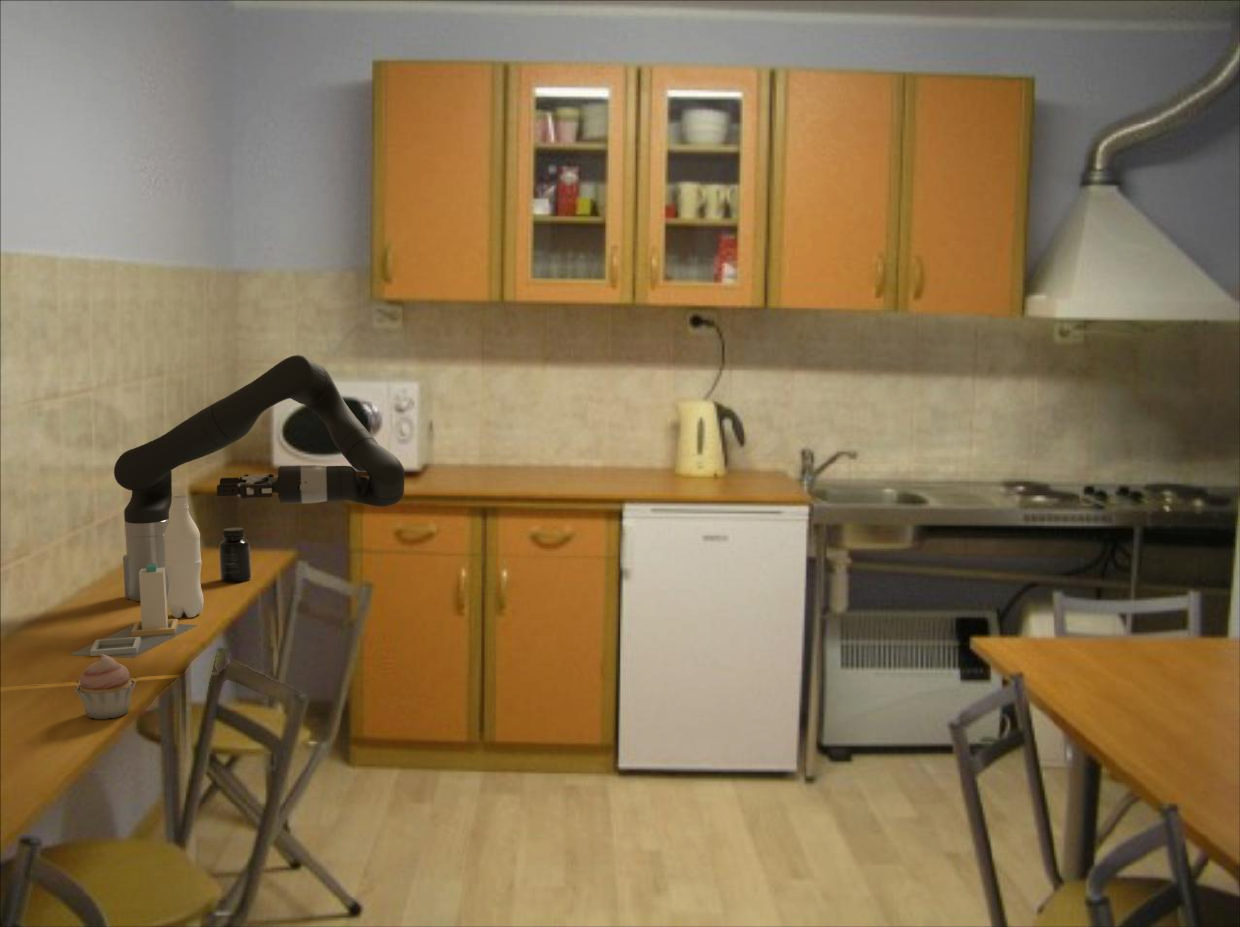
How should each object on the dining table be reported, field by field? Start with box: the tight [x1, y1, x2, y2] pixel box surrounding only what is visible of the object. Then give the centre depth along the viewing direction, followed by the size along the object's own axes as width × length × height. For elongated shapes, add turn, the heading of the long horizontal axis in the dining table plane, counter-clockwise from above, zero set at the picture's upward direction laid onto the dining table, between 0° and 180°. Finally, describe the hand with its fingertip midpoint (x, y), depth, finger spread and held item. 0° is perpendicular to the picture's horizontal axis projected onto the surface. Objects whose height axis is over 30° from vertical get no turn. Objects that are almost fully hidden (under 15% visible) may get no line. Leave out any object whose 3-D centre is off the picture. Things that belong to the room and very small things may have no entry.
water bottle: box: [164, 495, 204, 619], centre depth 286 cm, size 7×7×25 cm
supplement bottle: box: [218, 527, 252, 583], centre depth 320 cm, size 7×7×12 cm
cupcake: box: [74, 654, 137, 720], centre depth 223 cm, size 9×9×10 cm
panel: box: [69, 618, 198, 659], centre depth 267 cm, size 13×25×2 cm, turn 169°
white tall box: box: [139, 564, 169, 630], centre depth 273 cm, size 4×4×13 cm
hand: (218, 486), depth 272 cm, fingers open, 8 cm apart
